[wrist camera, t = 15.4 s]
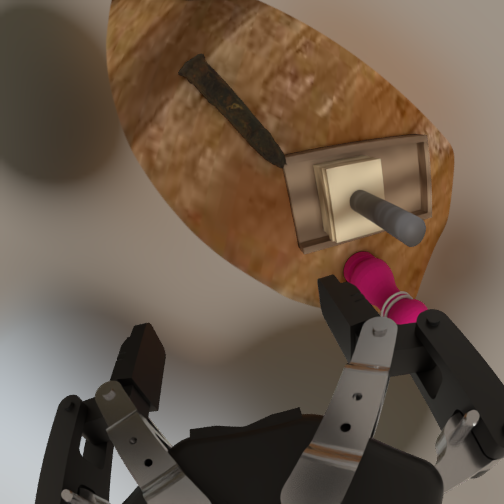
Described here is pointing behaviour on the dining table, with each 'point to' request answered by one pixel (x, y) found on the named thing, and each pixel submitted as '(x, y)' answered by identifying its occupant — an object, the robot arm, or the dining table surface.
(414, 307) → the pepper mill
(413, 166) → the bay
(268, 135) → the hand tool
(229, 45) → the dining table surface
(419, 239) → the joystick
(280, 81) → the dining table surface
